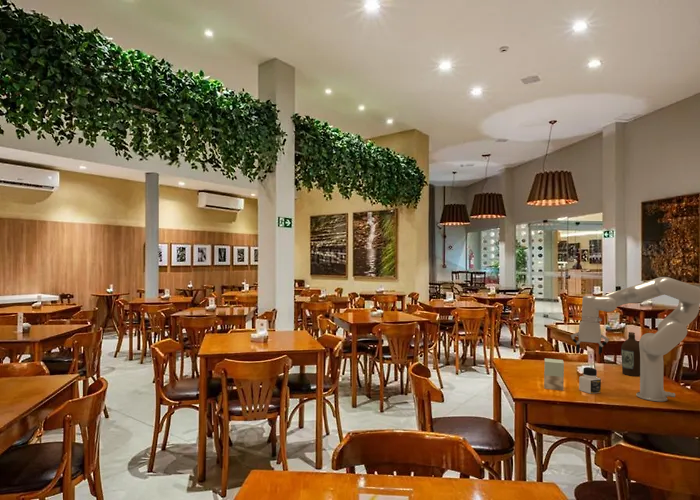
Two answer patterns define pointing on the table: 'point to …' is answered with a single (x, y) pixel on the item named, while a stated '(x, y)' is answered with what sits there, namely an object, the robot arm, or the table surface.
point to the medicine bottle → (590, 381)
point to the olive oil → (630, 356)
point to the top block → (554, 367)
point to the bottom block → (553, 382)
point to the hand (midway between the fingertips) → (589, 353)
